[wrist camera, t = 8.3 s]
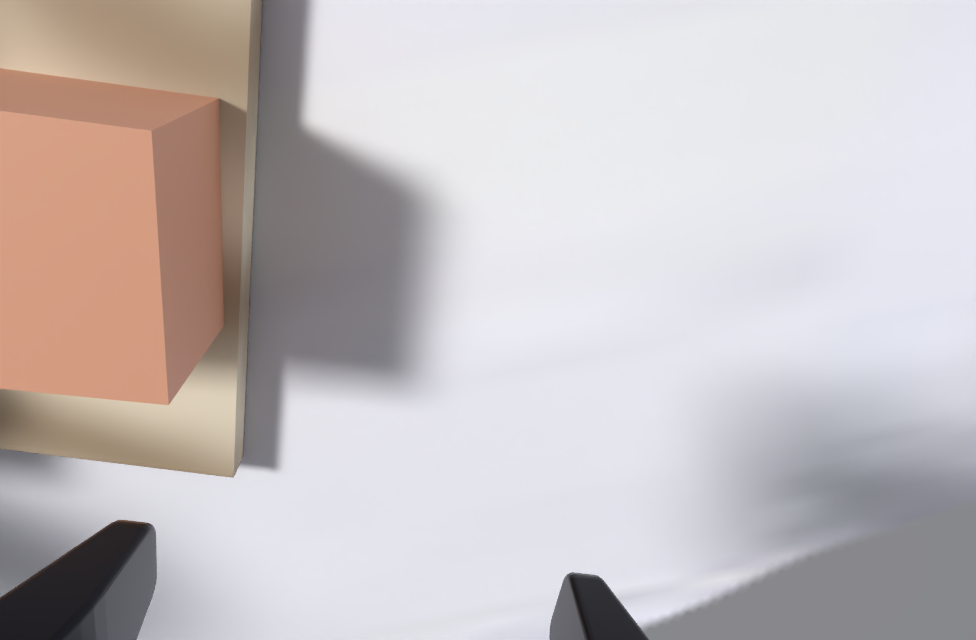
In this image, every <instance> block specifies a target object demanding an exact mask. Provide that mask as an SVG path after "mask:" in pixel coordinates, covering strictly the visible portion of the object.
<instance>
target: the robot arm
mask: <svg viewBox="0 0 976 640" xmlns="http://www.w3.org/2000/svg"><path fill="white" fill-rule="evenodd" d="M156 578H157V562H156V532H155V529H154V526H153V525H151V524H149V523H144V522H135V521H127V520H118V521H115V522H113V523H111V524H109V525H108V526H106V527H105V528H103V529H102V530H100V531H99V532H97V533H96V534H94V535H93V536H91V537H90V538H88V539H87V540H85V541H84V542H82V543H81V544H79V545H78V546H76V547H75V548H73V549H72V550H70V551H69V552H67V553H66V554H65V555H63V556H62V557H60V558H59V559H57V560H56V561H54V562H53V563H51V564H50V565H48V566H47V567H45V568H44V569H42V570H41V571H39V572H38V573H36V574H35V575H33V576H32V577H30V578H29V579H27V580H26V581H24V582H23V583H21V584H20V585H18V586H17V587H15V588H14V589H12V590H11V591H9V592H8V593H6V594H5V595H4V596H2V597H1V598H0V640H136V639H137V636H138V634H139V631H140V628H141V626H142V623H143V620H144V618H145V615H146V612H147V610H148V607H149V604H150V602H151V599H152V596H153V593H154V589H155V585H156ZM550 640H649V639H648V638H647V636H646V635H645V634H644V632H643V631H642V630H641V628H640V627H639V626H638V625H637V623H636V622H635V621H634V619H633V618H632V617H631V615H630V614H629V613H628V612H627V610H626V609H625V608H624V606H623V605H622V604H621V602H620V601H619V600H618V599H617V597H616V596H615V595H614V593H613V592H612V591H611V589H610V588H609V587H608V585H607V584H606V583H605V582H604V580H603V579H601V578H600V577H599V576H597V575H591V574H582V573H574V572H572V573H569V574H567V575H566V577H565V578H564V581H563V583H562V587H561V590H560V593H559V596H558V600H557V603H556V606H555V609H554V613H553V616H552V620H551V625H550Z"/></svg>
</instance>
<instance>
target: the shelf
mask: <svg viewBox="0 0 976 640" xmlns="http://www.w3.org/2000/svg"><path fill="white" fill-rule="evenodd" d="M261 23H262V0H0V68H3V69H10V70H17V71H24V72H32V73H39V74H46V75H54V76H61V77H68V78H75V79H83V80H90V81H97V82H105V83H112V84H119V85H126V86H134V87H141V88H148V89H156V90H163V91H170V92H177V93H185V94H192V95H199V96H207V97H214V98H219V112H220V158H221V205H222V252H223V298H224V326H223V328H222V329H221V331H220V332H219V334H218V335H217V336H216V338H215V339H214V341H213V342H212V344H211V345H210V346H209V348H208V349H207V351H206V352H205V354H204V355H203V357H202V358H201V359H200V361H199V362H198V364H197V365H196V367H195V368H194V370H193V371H192V372H191V374H190V375H189V377H188V378H187V380H186V381H185V382H184V384H183V385H182V387H181V388H180V390H179V391H178V393H177V394H176V395H175V397H174V398H173V400H172V401H171V403H170V404H169V405H160V404H150V403H140V402H130V401H120V400H110V399H100V398H90V397H80V396H69V395H59V394H49V393H39V392H29V391H19V390H9V389H0V449H6V450H14V451H22V452H30V453H38V454H47V455H55V456H63V457H71V458H79V459H87V460H95V461H103V462H111V463H119V464H127V465H136V466H144V467H152V468H160V469H168V470H176V471H184V472H192V473H200V474H208V475H216V476H225V477H234V475H235V473H236V471H237V469H238V467H239V464H240V462H241V460H242V458H243V439H244V416H245V393H246V370H247V347H248V324H249V300H250V277H251V254H252V231H253V208H254V185H255V161H256V138H257V115H258V92H259V69H260V46H261Z"/></svg>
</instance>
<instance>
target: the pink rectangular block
mask: <svg viewBox="0 0 976 640" xmlns="http://www.w3.org/2000/svg"><path fill="white" fill-rule="evenodd" d="M223 326H224V298H223V252H222V205H221V158H220V112H219V98H214V97H207V96H199V95H192V94H185V93H177V92H170V91H163V90H156V89H148V88H141V87H134V86H126V85H119V84H112V83H105V82H97V81H90V80H83V79H75V78H68V77H61V76H54V75H46V74H39V73H32V72H24V71H17V70H10V69H3V68H0V389H9V390H19V391H29V392H39V393H49V394H59V395H69V396H80V397H90V398H100V399H110V400H120V401H130V402H140V403H150V404H160V405H169V404H170V403H171V401H172V400H173V398H174V397H175V395H176V394H177V393H178V391H179V390H180V388H181V387H182V385H183V384H184V382H185V381H186V380H187V378H188V377H189V375H190V374H191V372H192V371H193V370H194V368H195V367H196V365H197V364H198V362H199V361H200V359H201V358H202V357H203V355H204V354H205V352H206V351H207V349H208V348H209V346H210V345H211V344H212V342H213V341H214V339H215V338H216V336H217V335H218V334H219V332H220V331H221V329H222V328H223Z"/></svg>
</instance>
